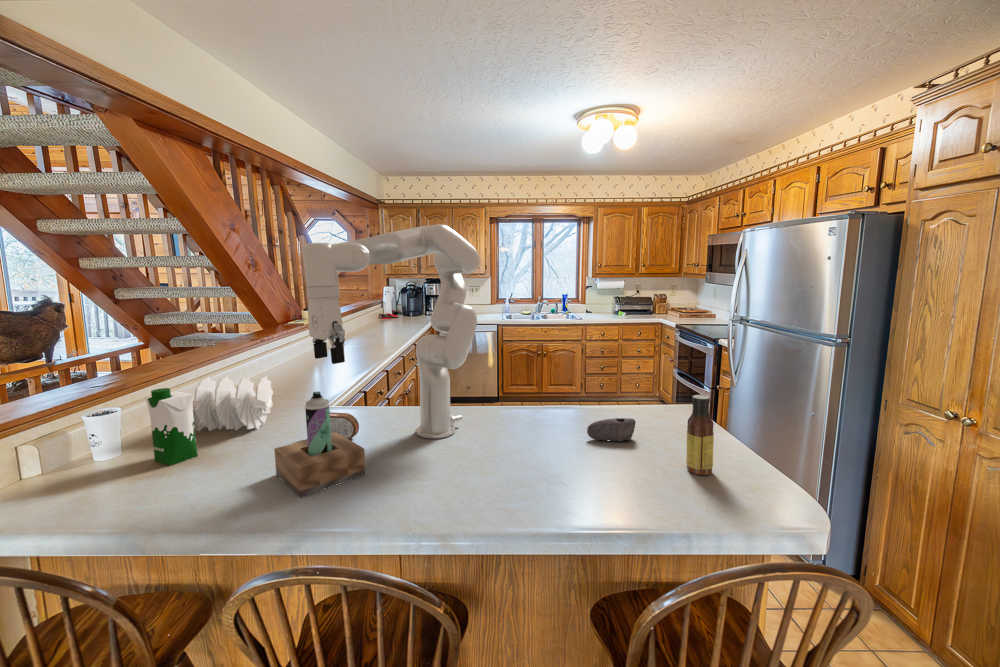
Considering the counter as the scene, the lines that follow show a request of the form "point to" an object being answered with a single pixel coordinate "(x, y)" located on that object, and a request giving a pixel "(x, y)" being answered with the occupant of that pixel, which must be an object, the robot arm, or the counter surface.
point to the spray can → (318, 425)
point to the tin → (344, 424)
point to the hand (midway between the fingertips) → (329, 360)
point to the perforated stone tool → (612, 429)
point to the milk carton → (172, 426)
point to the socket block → (319, 465)
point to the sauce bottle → (700, 437)
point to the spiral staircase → (231, 404)
